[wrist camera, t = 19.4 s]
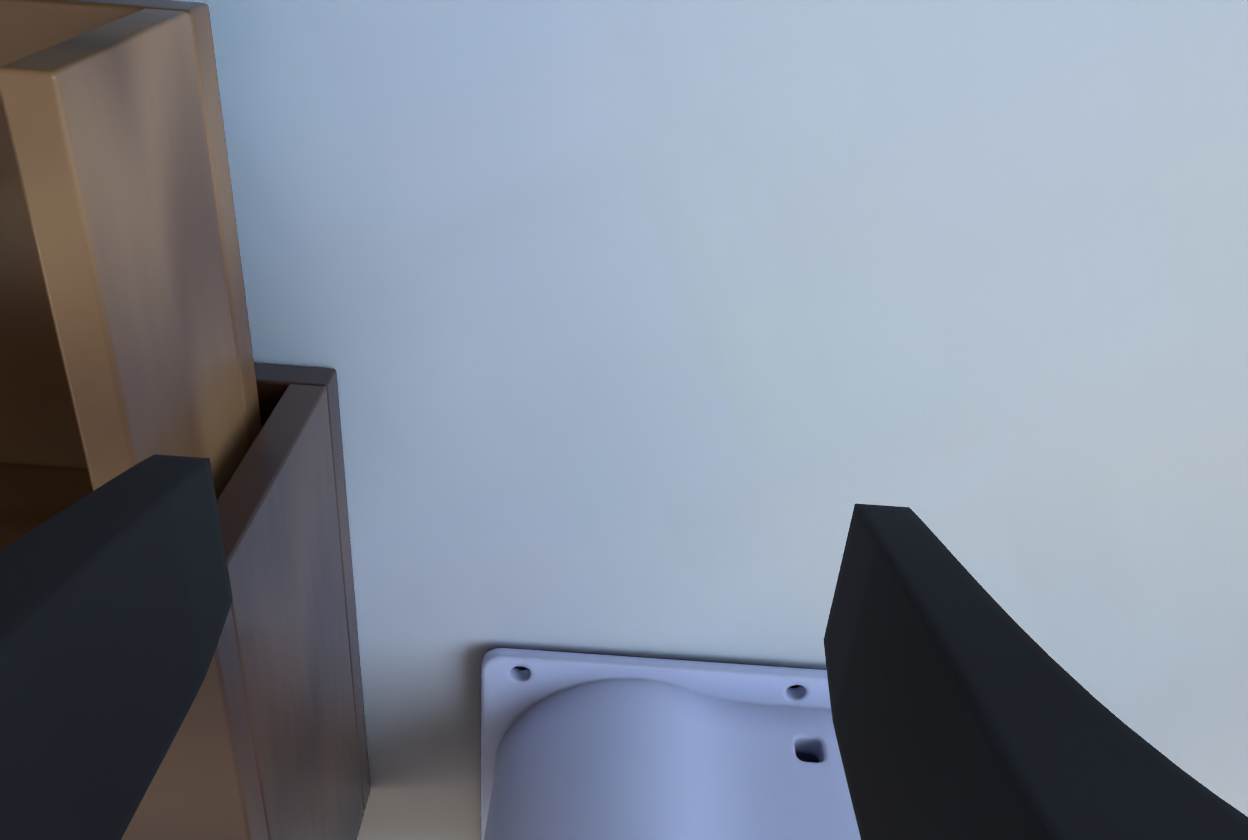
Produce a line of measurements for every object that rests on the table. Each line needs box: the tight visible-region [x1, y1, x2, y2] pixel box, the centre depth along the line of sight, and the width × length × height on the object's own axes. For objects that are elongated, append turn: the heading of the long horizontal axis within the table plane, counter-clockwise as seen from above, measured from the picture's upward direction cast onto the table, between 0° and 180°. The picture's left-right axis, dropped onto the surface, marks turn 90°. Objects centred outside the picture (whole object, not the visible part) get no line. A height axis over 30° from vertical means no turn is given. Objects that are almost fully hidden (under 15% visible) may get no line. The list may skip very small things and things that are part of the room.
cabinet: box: [121, 363, 370, 840], centre depth 22 cm, size 14×14×8 cm
